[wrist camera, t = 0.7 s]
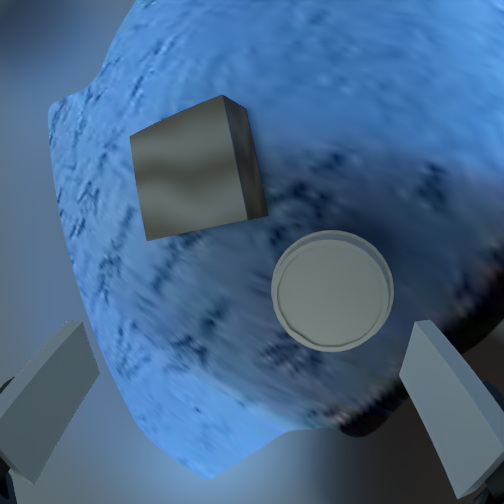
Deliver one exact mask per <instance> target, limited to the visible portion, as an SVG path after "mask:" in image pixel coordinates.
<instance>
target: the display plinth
mask: <svg viewBox="0 0 504 504" xmlns="http://www.w3.org/2000/svg"><path fill="white" fill-rule="evenodd" d="M130 144H131V152H132V159H133V166H134V173H135V179H136V186H137V192H138V197H139V203H140V209H141V214H142V219H143V224H144V229H145V234H146V239H147V241H150V240H155V239H159V238H164V237H168V236H173V235H177V234H182V233H186V232H191V231H196V230H200V229H205V228H210V227H215V226H220V225H225V224H230V223H234V222H239V221H244V220H249V219H254V218H259V217H263V216H268V212H267V207H266V202H265V197H264V192H263V187H262V182H261V178H260V173H259V168H258V163H257V158H256V154H255V149H254V144H253V139H252V135H251V130H250V126H249V121H248V116H247V112H246V109H245V108H244V107H242V106H241V105H239V104H237V103H236V102H234V101H232V100H231V99H229V98H227V97H226V96H224V95H220V96H218V97H215V98H212V99H210V100H207V101H205V102H202V103H200V104H197V105H195V106H193V107H190V108H188V109H186V110H183V111H181V112H179V113H177V114H174V115H172V116H170V117H168V118H166V119H164V120H161V121H159V122H157V123H155V124H153V125H151V126H149V127H147V128H145V129H143V130H141V131H139V132H137V133H135V134H133V135H131V136H130Z"/></svg>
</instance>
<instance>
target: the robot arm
mask: <svg viewBox="0 0 504 504" xmlns="http://www.w3.org/2000/svg"><path fill="white" fill-rule="evenodd" d="M99 374H100V371H99V369H98V366H97V363H96V361H95V358H94V356H93V352H92V349H91V346H90V343H89V340H88V337H87V335H86V331H85V328H84V325H83V322H82V321H74V320H68V321H67V322H66V323H65V324H64V325H63V326H62V327H61V328H60V329H59V330H58V331H57V332H56V333H55V334H54V335H53V336H52V337H51V338H50V339H49V340H48V341H47V342H46V344H45V345H44V346H43V347H42V348H41V349H40V350H39V351H38V352H37V353H36V354H35V355H34V356H33V357H32V359H31V360H30V361H29V362H28V363H27V364H26V365H25V366H24V368H22V370H21V371H20V372H19V373H18V374H17V375H16V376H15V377H13V378H12V379H10V380H9V381H7V382H6V383H4V384H3V386H2V387H1V388H0V504H17V501H16V496H15V492H14V487H13V481H12V478H11V475H10V474H9V473H8V471H9V469H10V468H11V469H12V470H13V471H14V472H15V473H16V474H17V475H18V476H19V477H20V478H21V479H23V480H25V481H27V482H29V483H30V484H32V485H35V483H36V481H37V480H38V478H39V476H40V474H41V472H42V470H43V468H44V467H45V465H46V463H47V461H48V459H49V457H50V455H51V454H52V452H53V450H54V448H55V446H56V445H57V443H58V441H59V440H60V438H61V436H62V435H63V433H64V431H65V429H66V428H67V426H68V424H69V422H70V421H71V419H72V418H73V416H74V414H75V413H76V411H77V409H78V408H79V406H80V404H81V403H82V401H83V399H84V398H85V396H86V395H87V393H88V391H89V390H90V388H91V387H92V385H93V383H94V382H95V380H96V379H97V377H98V376H99ZM399 376H400V378H401V380H402V382H403V384H404V386H405V387H406V389H407V391H408V393H409V395H410V397H411V399H412V401H413V403H414V405H415V407H416V409H417V411H418V413H419V415H420V417H421V419H422V421H423V423H424V425H425V427H426V429H427V431H428V433H429V435H430V437H431V440H432V442H433V444H434V446H435V448H436V450H437V452H438V455H439V457H440V459H441V462H442V464H443V466H444V468H445V471H446V473H447V475H448V478H449V480H450V482H451V485H452V487H453V490H454V492H455V494H456V497H457V499H459V498H461V497H463V496H465V495H468V494H470V493H471V492H474V491H476V490H477V489H478V488H479V487H480V486H481V485H482V484H483V483H484V482H486V484H487V487H486V488H485V489H484V490H483V491H482V492H481V493H480V494H479V495H478V496H476V497H475V498H474V500H473V502H472V504H475V503H476V502H477V501H478V500H479V499H480V498H481V497H482V498H481V501H480V502H479V503H478V504H504V397H503V395H502V394H501V393H500V392H499V390H498V389H497V388H496V387H495V386H493V385H492V384H490V383H489V382H488V381H484V382H481V381H480V379H479V378H478V377H477V375H476V374H475V373H474V372H473V370H472V369H471V368H470V366H469V365H468V364H467V363H466V361H465V360H464V359H463V358H462V356H461V355H460V354H459V353H458V351H457V350H456V349H455V348H454V347H453V345H452V344H451V343H450V342H449V341H448V339H447V338H446V337H445V336H444V335H443V334H442V332H441V331H440V330H439V329H438V328H437V327H436V325H435V324H434V323H433V322H432V321H431V320H423V321H415V323H414V327H413V330H412V334H411V338H410V341H409V345H408V348H407V352H406V355H405V358H404V361H403V365H402V368H401V371H400V374H399Z"/></svg>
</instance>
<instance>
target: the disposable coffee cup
mask: <svg viewBox="0 0 504 504" xmlns="http://www.w3.org/2000/svg"><path fill="white" fill-rule="evenodd" d="M271 296H272V300H273V305H274V310H275V313H276V315H277V317H278V320H279V321H280V323H281V324H282V326H283V327H284V329H285V330H286V331H287V332H288V334H289V335H291V336H292V337H293V338H294V339H295V340H297V341H298V342H300V343H301V344H303V345H305V346H307V347H309V348H312V349H315V350H319V351H326V352H338V351H343V350H348V349H351V348H354V347H356V346H358V345H360V344H362V343H363V342H365V341H366V340H368V339H369V338H371V337H372V336H373V335H374V334H375V333H377V332H378V330H379V329H380V328H381V327H382V326H383V324H384V323H385V321H386V319H387V317H388V316H389V314H390V311H391V307H392V304H393V297H394V283H393V279H392V274H391V272H390V269H389V266H388V264H387V263H386V261H385V259H384V258H383V256H382V255H381V254H380V252H379V251H378V250H377V249H376V248H375V247H374V246H373V245H372V244H370V243H369V242H368V241H366V240H365V239H363V238H361V237H359V236H357V235H355V234H352V233H348V232H344V231H338V230H325V231H318V232H315V233H312V234H309V235H306V236H304V237H303V238H301V239H299V240H297V241H296V242H295V243H293V244H292V245H291V246H290V247H289V248H288V249H287V250H285V252H284V253H283V255H282V256H281V258H280V259H279V261H278V263H277V265H276V267H275V269H274V273H273V278H272V283H271Z"/></svg>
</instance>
